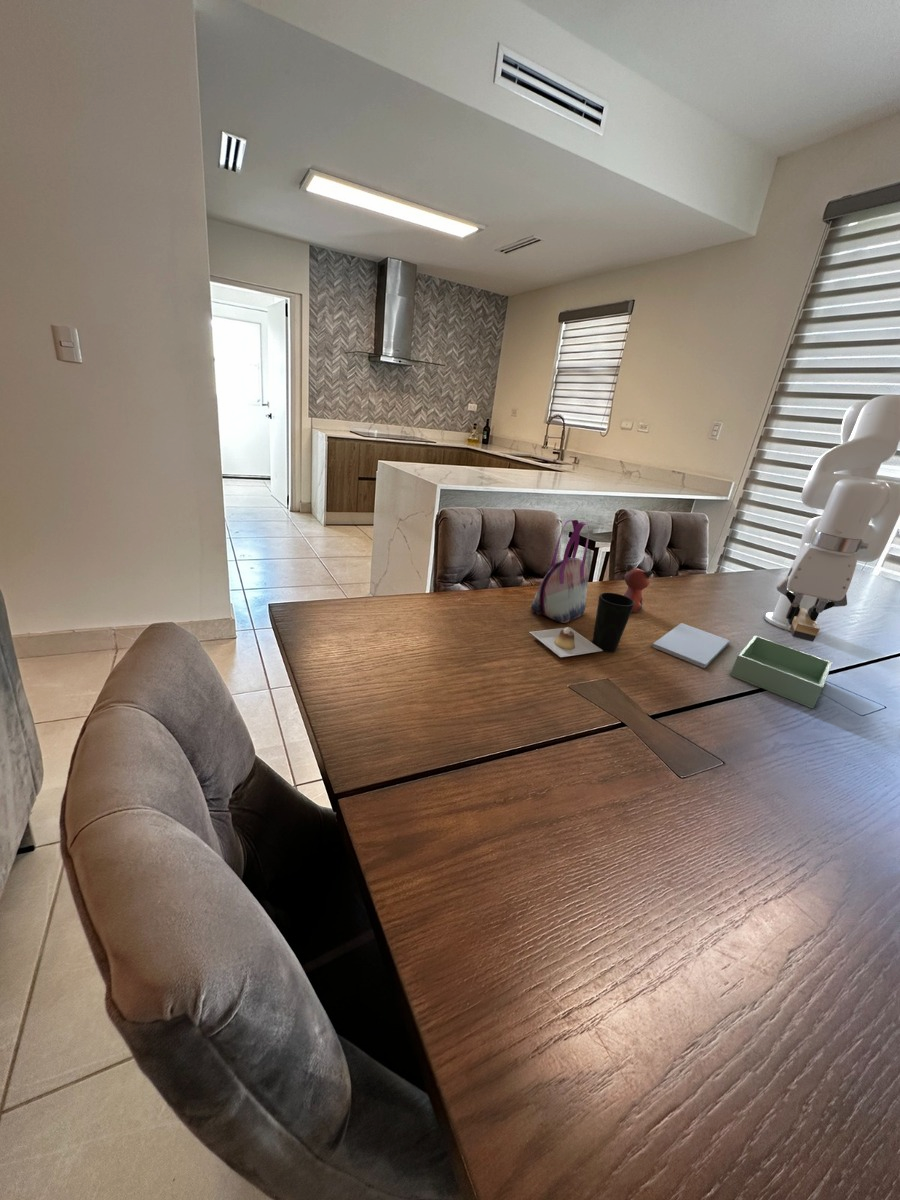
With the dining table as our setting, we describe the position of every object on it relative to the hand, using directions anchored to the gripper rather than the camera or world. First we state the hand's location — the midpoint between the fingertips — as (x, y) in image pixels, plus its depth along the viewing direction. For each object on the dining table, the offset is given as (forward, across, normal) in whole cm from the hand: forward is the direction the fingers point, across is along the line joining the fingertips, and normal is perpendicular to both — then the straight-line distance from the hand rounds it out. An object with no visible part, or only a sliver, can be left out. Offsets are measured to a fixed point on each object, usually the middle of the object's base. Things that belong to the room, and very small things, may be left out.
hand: (798, 623), depth 102 cm
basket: (+13, 0, +3) cm, 13 cm away
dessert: (+12, +44, +20) cm, 50 cm away
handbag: (+13, +51, +2) cm, 52 cm away
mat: (+13, +18, -2) cm, 22 cm away
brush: (0, 0, +2) cm, 2 cm away
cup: (+13, +36, +14) cm, 41 cm away
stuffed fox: (+13, +36, -15) cm, 41 cm away
